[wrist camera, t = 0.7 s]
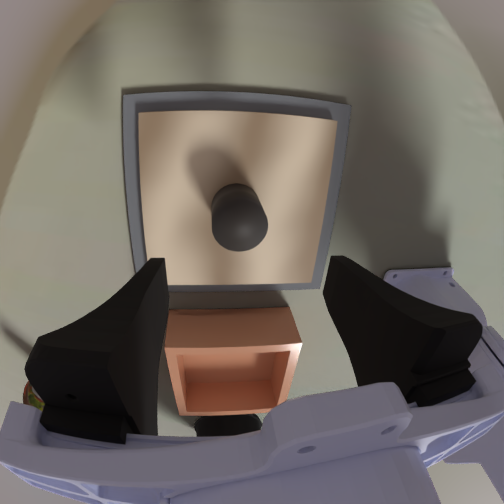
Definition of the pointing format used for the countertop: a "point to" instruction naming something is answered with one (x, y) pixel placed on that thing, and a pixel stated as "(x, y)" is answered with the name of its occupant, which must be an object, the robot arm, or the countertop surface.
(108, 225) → the countertop surface
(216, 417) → the milk frother
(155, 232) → the birch lid
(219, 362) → the terracotta dish
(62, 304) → the countertop surface
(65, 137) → the countertop surface
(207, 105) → the slate mat
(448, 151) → the countertop surface
